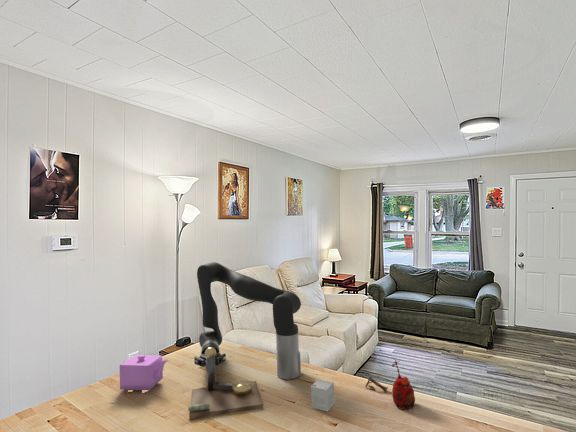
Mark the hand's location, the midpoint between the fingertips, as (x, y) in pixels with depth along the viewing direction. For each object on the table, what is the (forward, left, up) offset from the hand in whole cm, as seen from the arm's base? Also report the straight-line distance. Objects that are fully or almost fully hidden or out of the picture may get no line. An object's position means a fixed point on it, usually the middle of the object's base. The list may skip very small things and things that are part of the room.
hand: (210, 367), depth 130 cm
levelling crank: (-7, +4, -7) cm, 11 cm away
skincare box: (-37, +21, -9) cm, 44 cm away
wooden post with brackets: (-60, +17, -9) cm, 62 cm away
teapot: (+25, -11, -9) cm, 28 cm away
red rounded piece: (-63, +28, -9) cm, 70 cm away
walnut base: (-5, +8, -9) cm, 13 cm away
